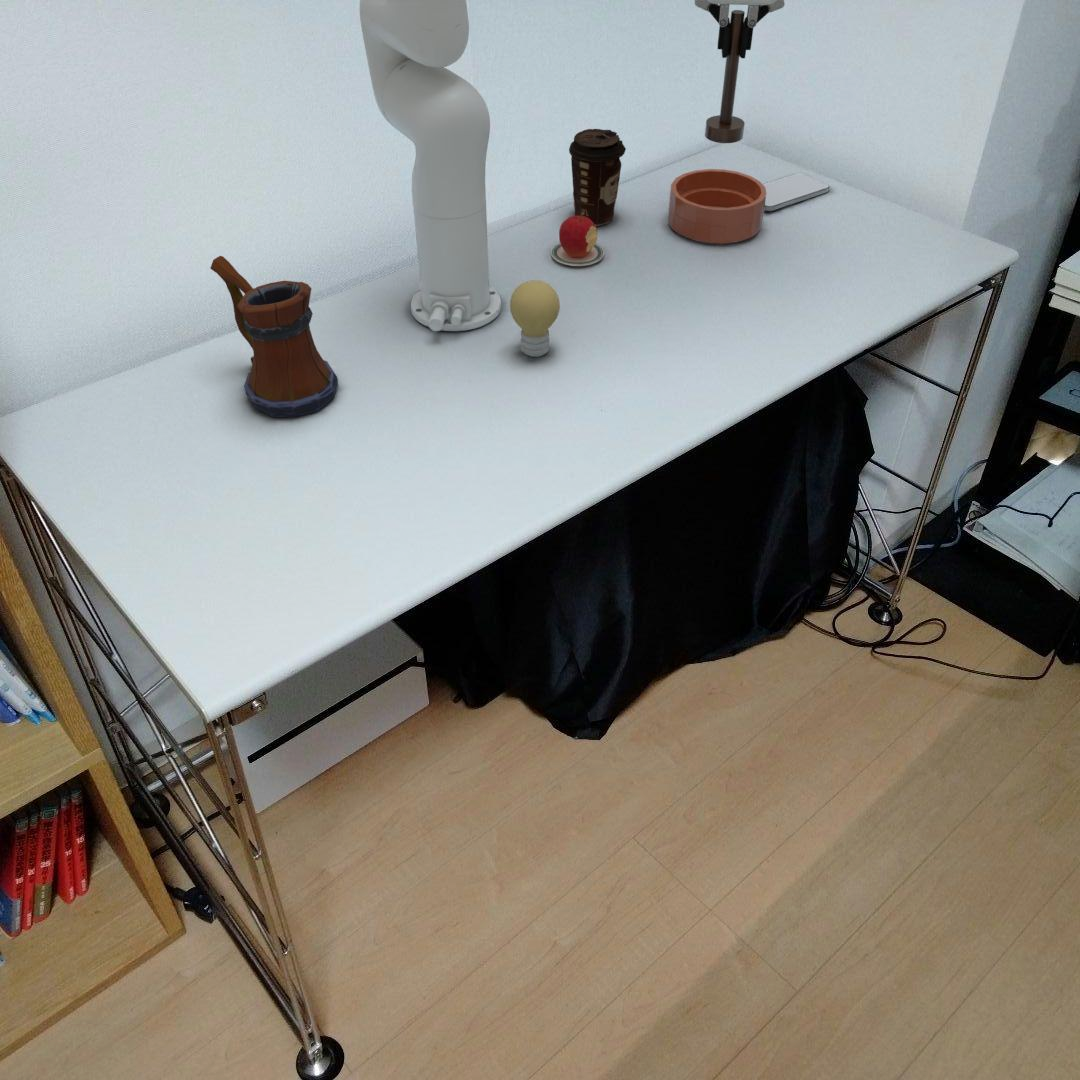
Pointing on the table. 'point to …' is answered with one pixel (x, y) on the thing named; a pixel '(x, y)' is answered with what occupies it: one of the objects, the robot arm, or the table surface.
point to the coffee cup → (596, 173)
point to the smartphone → (792, 190)
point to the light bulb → (534, 314)
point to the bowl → (716, 206)
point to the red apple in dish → (577, 242)
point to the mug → (279, 345)
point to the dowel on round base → (729, 90)
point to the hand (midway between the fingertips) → (733, 53)
